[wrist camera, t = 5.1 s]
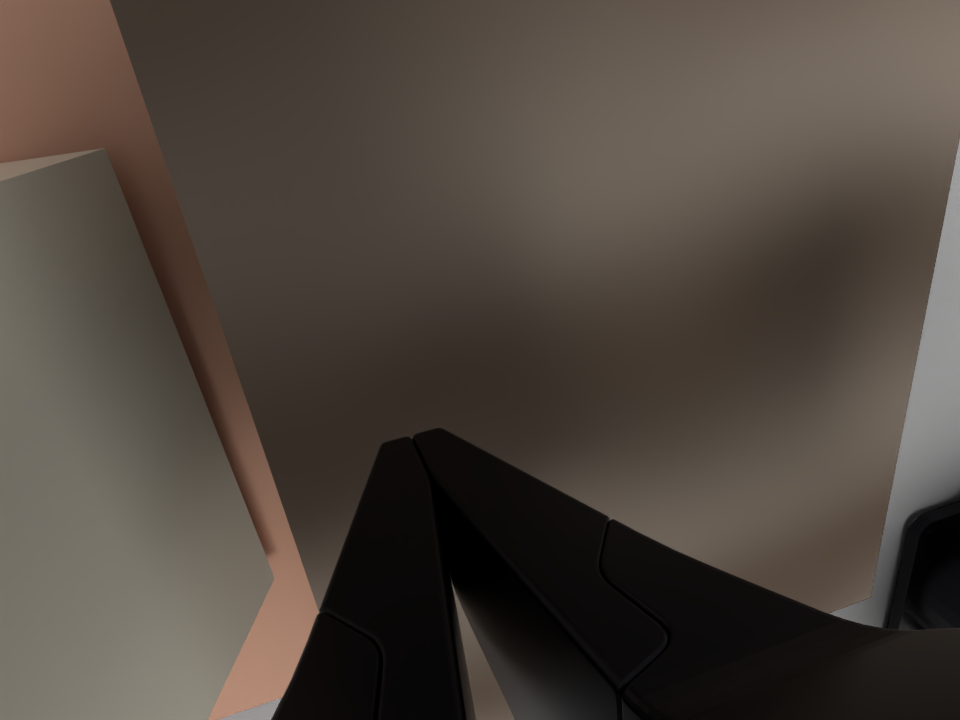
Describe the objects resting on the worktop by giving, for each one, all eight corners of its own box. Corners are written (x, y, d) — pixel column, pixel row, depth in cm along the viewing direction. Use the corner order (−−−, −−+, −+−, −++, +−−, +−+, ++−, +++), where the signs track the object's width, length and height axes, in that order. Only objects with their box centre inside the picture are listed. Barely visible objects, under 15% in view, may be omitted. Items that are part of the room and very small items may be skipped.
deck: (760, 499, 19) (870, 597, 16) (354, 633, 17) (377, 784, 13) (816, -195, 12) (1044, -298, 8) (113, -134, 9) (26, -242, 6)
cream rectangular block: (113, 919, 9) (-17, 913, 9) (274, 577, 14) (188, 581, 14) (-386, 304, 5) (-598, 329, 5) (104, 148, 10) (-10, 164, 10)
